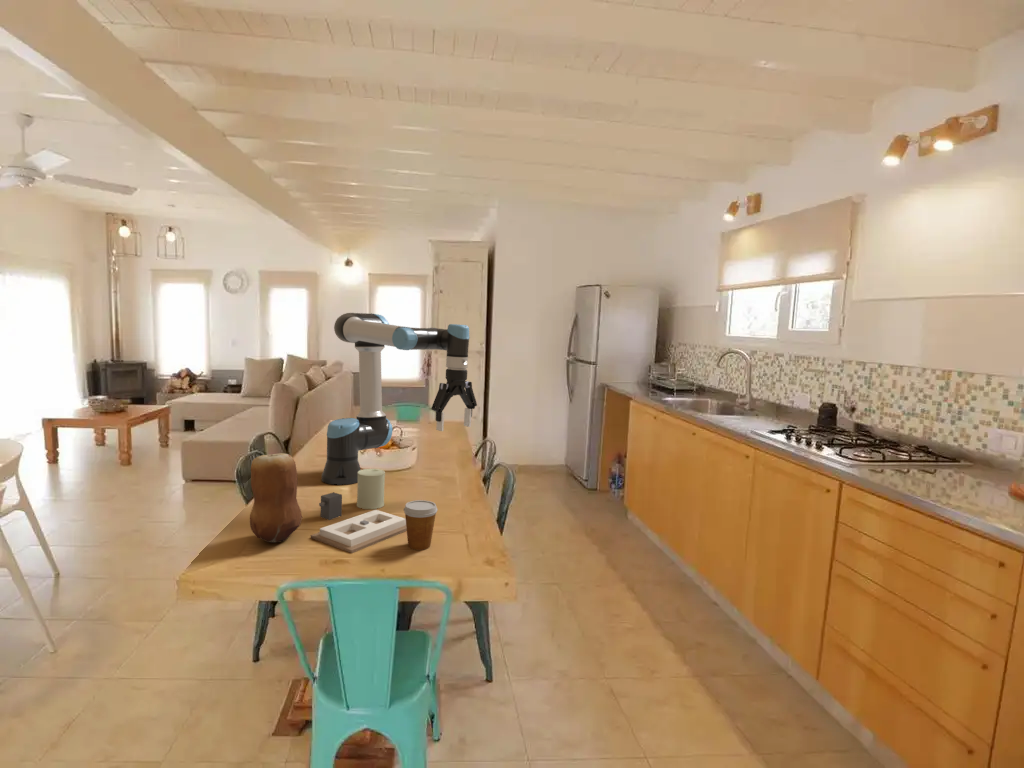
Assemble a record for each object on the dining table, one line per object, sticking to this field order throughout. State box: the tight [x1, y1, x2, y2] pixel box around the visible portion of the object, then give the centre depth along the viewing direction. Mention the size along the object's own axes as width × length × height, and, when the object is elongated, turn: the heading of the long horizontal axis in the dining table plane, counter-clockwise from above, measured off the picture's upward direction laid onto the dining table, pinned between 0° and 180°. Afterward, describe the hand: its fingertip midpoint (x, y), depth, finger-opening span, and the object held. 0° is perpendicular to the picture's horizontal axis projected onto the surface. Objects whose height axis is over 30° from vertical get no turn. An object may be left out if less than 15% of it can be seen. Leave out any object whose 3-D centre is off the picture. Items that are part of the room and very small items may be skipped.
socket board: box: [310, 509, 407, 554], centre depth 172 cm, size 17×25×3 cm
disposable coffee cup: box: [403, 499, 438, 551], centre depth 164 cm, size 10×10×12 cm
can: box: [356, 468, 386, 510], centre depth 196 cm, size 9×9×12 cm
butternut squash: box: [249, 452, 303, 543], centre depth 161 cm, size 14×13×25 cm
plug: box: [318, 492, 343, 521], centre depth 183 cm, size 4×7×7 cm, turn 148°
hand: (453, 428), depth 204 cm, fingers open, 13 cm apart
